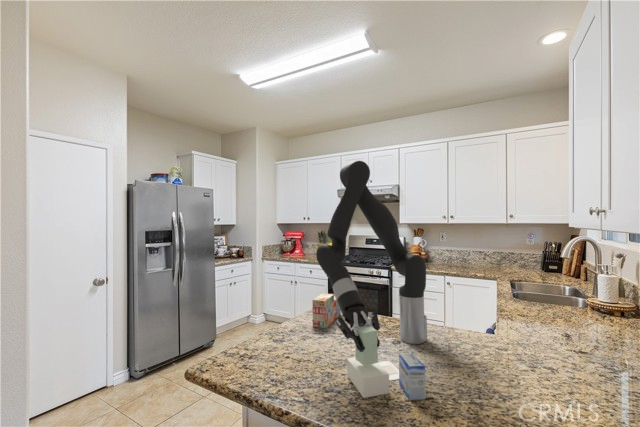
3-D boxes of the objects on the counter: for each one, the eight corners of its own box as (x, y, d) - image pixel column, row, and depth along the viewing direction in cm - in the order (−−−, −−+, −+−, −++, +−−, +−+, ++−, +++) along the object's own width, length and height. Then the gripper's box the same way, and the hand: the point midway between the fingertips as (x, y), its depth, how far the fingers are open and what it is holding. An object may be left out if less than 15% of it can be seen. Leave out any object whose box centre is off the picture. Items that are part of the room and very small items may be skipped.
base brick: (370, 371, 91) (369, 355, 91) (389, 393, 79) (388, 374, 79) (347, 375, 89) (347, 358, 89) (363, 397, 77) (363, 378, 77)
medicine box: (398, 384, 84) (398, 353, 84) (414, 383, 84) (413, 352, 84) (409, 401, 76) (408, 366, 76) (426, 399, 76) (425, 365, 76)
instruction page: (388, 361, 97) (388, 360, 97) (407, 378, 87) (407, 376, 87) (366, 364, 95) (366, 363, 95) (382, 382, 85) (382, 381, 85)
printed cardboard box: (329, 313, 151) (328, 289, 151) (340, 314, 149) (340, 289, 149) (312, 327, 131) (312, 299, 131) (325, 328, 129) (325, 300, 129)
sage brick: (368, 356, 87) (368, 325, 87) (377, 362, 83) (377, 330, 83) (355, 359, 85) (355, 327, 86) (364, 366, 81) (363, 332, 82)
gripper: (331, 291, 89) (353, 347, 77) (370, 286, 95) (396, 338, 83) (323, 305, 93) (343, 360, 82) (361, 299, 99) (385, 350, 88)
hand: (370, 348), depth 83 cm, fingers closed on sage brick, 4 cm apart
